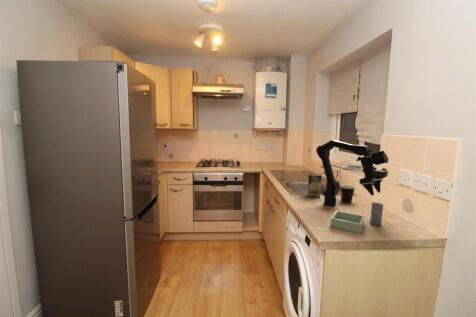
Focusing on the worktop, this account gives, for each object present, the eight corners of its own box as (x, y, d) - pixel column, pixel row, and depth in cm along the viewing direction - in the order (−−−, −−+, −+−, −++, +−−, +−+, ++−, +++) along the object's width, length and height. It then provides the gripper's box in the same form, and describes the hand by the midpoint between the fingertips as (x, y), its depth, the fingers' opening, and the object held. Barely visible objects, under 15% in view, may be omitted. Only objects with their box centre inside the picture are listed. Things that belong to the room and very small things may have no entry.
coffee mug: (352, 204, 153) (353, 189, 152) (338, 201, 158) (339, 187, 157) (354, 199, 163) (355, 185, 162) (341, 197, 168) (342, 184, 166)
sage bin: (330, 226, 117) (331, 218, 116) (335, 218, 128) (336, 210, 127) (360, 233, 109) (361, 224, 109) (363, 224, 121) (364, 215, 120)
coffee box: (307, 196, 169) (308, 174, 167) (307, 194, 175) (308, 173, 173) (320, 197, 166) (321, 175, 164) (320, 195, 172) (321, 174, 170)
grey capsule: (369, 224, 120) (371, 204, 118) (370, 221, 124) (372, 201, 122) (381, 227, 117) (383, 206, 116) (381, 224, 121) (383, 203, 120)
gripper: (376, 165, 120) (385, 195, 117) (389, 162, 132) (397, 189, 129) (355, 169, 128) (363, 197, 126) (369, 166, 140) (376, 192, 138)
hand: (376, 194), depth 129 cm, fingers open, 9 cm apart
